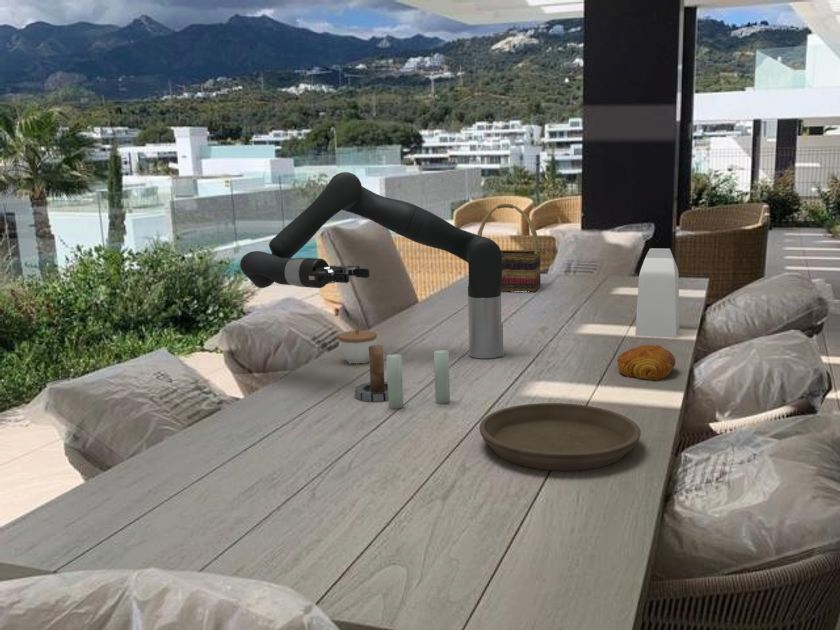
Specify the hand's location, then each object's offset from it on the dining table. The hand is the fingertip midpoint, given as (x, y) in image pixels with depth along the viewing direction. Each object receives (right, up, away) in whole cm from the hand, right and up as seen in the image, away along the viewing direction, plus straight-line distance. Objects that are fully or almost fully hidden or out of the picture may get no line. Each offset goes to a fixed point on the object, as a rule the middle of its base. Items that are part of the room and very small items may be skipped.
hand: (358, 275), depth 207 cm
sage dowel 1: (+10, -31, -13) cm, 35 cm away
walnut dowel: (+5, -29, -3) cm, 30 cm away
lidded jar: (-2, -23, +30) cm, 38 cm away
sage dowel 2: (+20, -30, -10) cm, 38 cm away
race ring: (+5, -29, -3) cm, 30 cm away
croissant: (+73, -25, +9) cm, 78 cm away
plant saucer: (+42, -36, -41) cm, 69 cm away
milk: (+88, -15, +53) cm, 104 cm away
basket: (+51, +1, +139) cm, 148 cm away
